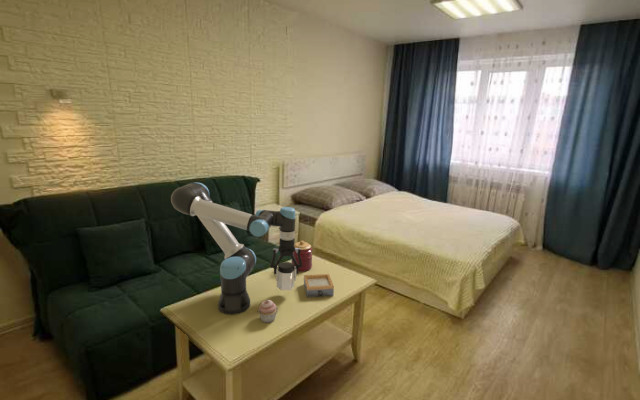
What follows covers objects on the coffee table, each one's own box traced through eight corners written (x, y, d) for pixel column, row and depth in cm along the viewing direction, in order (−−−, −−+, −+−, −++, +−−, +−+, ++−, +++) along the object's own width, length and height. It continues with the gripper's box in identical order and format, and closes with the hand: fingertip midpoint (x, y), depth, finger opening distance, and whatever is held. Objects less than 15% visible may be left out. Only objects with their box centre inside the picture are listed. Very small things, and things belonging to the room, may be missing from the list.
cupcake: (253, 319, 151) (252, 299, 149) (269, 311, 158) (269, 292, 155) (266, 328, 145) (266, 307, 143) (282, 319, 152) (282, 299, 149)
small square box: (307, 298, 170) (307, 288, 169) (303, 284, 184) (304, 275, 183) (333, 296, 172) (334, 286, 171) (328, 283, 186) (328, 274, 185)
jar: (296, 288, 170) (297, 266, 167) (283, 292, 165) (284, 270, 162) (287, 281, 177) (287, 260, 174) (274, 285, 172) (274, 263, 169)
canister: (303, 261, 214) (303, 235, 210) (316, 268, 205) (316, 241, 201) (286, 266, 206) (287, 239, 202) (299, 274, 197) (299, 246, 192)
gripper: (265, 241, 159) (264, 283, 165) (309, 240, 163) (307, 282, 168) (265, 235, 166) (264, 276, 172) (307, 235, 170) (305, 275, 175)
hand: (285, 279), depth 170 cm, fingers closed on jar, 9 cm apart
